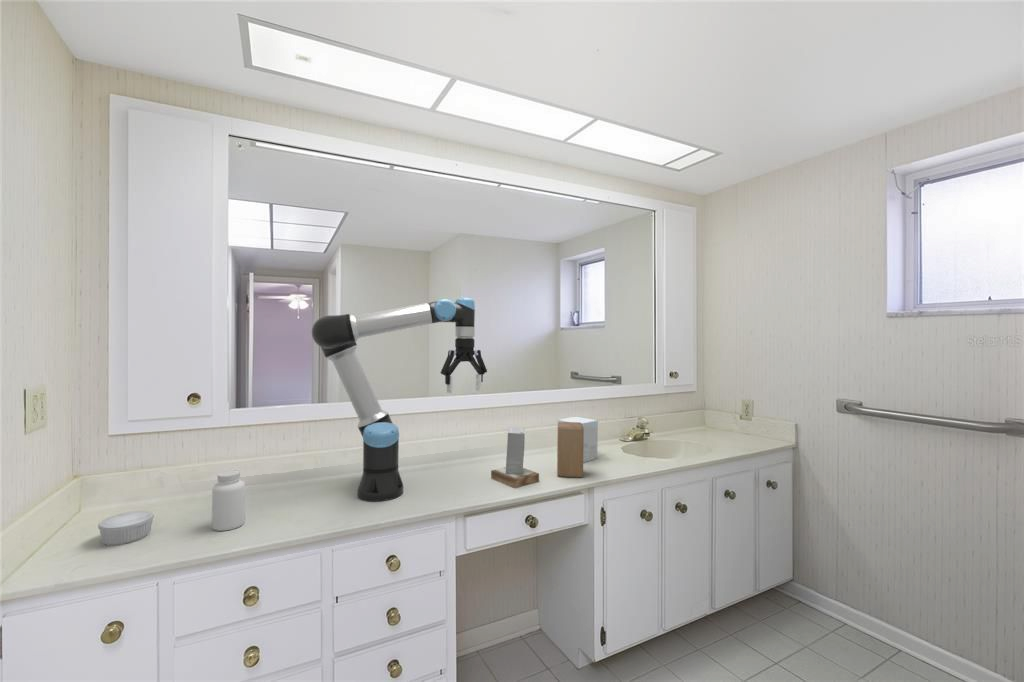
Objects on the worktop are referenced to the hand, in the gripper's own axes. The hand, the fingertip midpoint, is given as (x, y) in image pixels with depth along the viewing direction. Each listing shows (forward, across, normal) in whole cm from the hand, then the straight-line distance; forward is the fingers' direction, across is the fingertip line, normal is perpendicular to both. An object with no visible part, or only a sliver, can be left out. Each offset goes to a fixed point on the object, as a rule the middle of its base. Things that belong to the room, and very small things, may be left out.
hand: (464, 391), depth 173 cm
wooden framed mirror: (+33, -12, +17) cm, 39 cm away
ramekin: (+33, +100, -10) cm, 106 cm away
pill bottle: (+33, +78, -2) cm, 85 cm away
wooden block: (+33, -34, +25) cm, 54 cm away
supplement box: (+33, -54, +11) cm, 64 cm away
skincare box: (+30, -12, +17) cm, 36 cm away
